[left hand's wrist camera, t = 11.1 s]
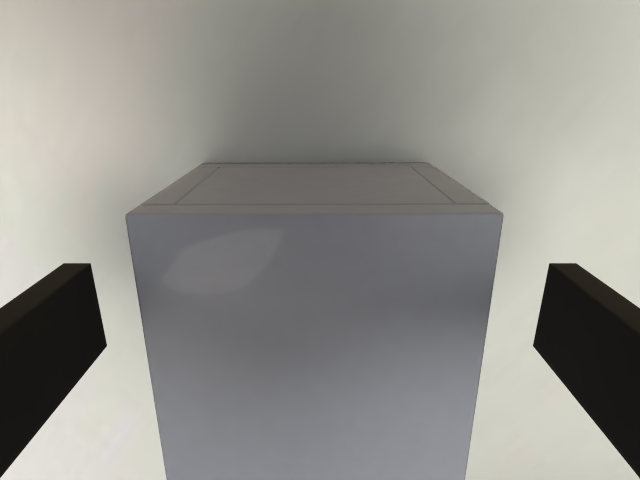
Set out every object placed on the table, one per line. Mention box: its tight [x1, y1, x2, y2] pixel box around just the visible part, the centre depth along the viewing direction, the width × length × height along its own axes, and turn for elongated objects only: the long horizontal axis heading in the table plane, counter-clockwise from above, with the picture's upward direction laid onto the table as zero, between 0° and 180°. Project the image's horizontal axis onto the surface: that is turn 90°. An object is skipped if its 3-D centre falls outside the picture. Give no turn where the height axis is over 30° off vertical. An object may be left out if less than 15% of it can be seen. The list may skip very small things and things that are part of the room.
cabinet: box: [126, 163, 503, 480], centre depth 20 cm, size 22×11×9 cm, turn 0°
